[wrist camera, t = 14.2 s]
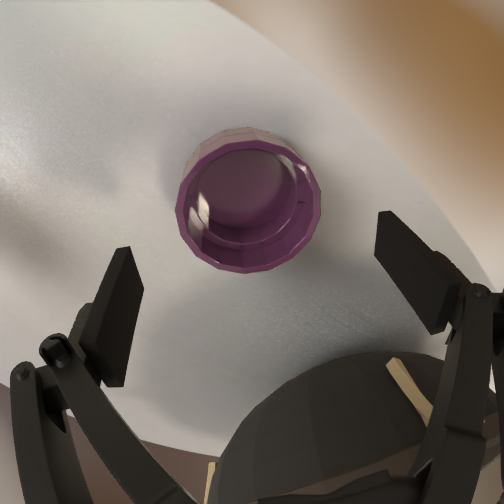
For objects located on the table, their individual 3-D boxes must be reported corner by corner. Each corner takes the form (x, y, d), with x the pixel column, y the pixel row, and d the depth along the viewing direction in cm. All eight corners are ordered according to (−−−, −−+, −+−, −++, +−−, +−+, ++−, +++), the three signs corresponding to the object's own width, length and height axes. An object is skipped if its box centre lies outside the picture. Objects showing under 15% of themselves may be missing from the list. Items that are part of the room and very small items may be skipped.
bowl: (469, 346, 42) (525, 439, 25) (310, 451, 53) (331, 539, 36) (369, 210, 26) (519, 401, 9) (145, 401, 37) (138, 542, 21)
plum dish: (173, 136, 21) (162, 153, 17) (298, 121, 22) (319, 134, 17) (194, 244, 26) (191, 281, 22) (302, 229, 26) (320, 262, 22)
